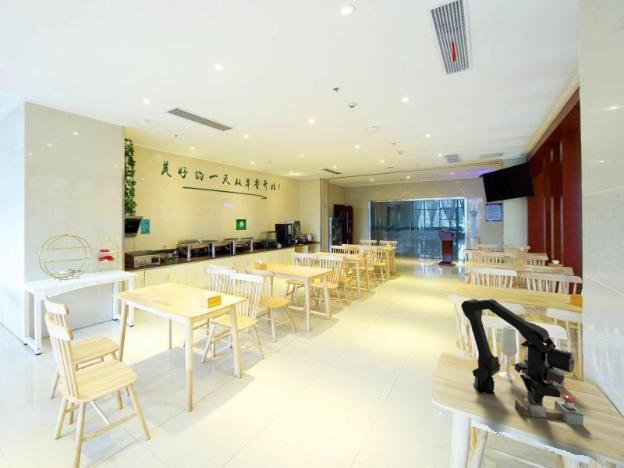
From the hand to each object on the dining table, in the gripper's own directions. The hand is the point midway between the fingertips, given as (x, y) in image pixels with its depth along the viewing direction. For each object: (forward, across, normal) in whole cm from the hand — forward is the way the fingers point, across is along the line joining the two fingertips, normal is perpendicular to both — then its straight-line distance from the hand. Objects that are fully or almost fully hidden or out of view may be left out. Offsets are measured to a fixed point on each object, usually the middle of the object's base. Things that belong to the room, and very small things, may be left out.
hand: (534, 400), depth 107 cm
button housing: (+5, 0, -11) cm, 12 cm away
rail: (+5, 0, -1) cm, 5 cm away
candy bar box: (+5, +28, -21) cm, 35 cm away
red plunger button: (+3, 0, -11) cm, 12 cm away
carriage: (+5, 0, 0) cm, 5 cm away
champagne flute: (+5, +28, -3) cm, 28 cm away
